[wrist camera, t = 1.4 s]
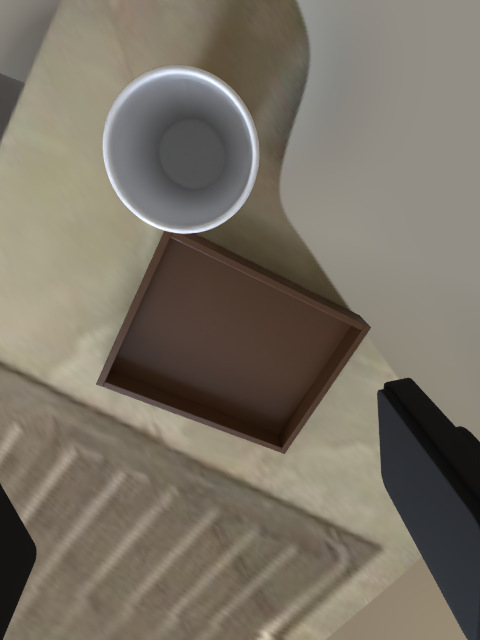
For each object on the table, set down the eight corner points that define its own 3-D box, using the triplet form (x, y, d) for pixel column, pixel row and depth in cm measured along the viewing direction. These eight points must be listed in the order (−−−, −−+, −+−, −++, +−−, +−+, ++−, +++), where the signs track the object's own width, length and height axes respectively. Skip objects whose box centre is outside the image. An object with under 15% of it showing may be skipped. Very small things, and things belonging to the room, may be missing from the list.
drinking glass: (193, 83, 29) (181, 17, 15) (254, 157, 31) (294, 161, 17) (129, 151, 30) (64, 149, 16) (193, 218, 32) (183, 266, 18)
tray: (103, 368, 37) (95, 384, 34) (169, 220, 32) (166, 226, 30) (279, 435, 42) (284, 454, 39) (359, 315, 37) (371, 327, 34)
